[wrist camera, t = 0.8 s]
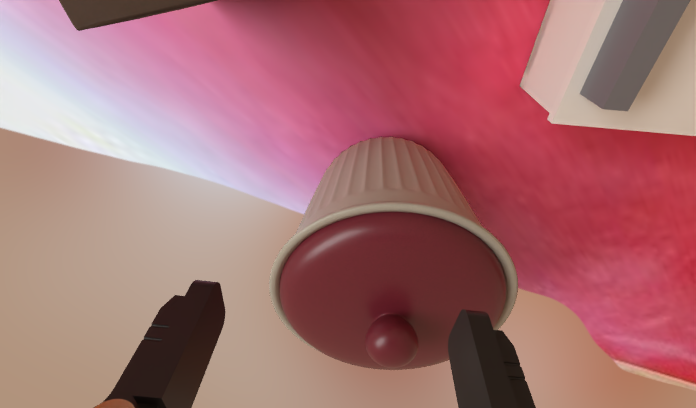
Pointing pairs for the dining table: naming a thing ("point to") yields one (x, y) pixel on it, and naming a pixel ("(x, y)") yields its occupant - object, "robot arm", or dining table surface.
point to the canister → (389, 260)
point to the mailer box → (555, 48)
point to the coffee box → (119, 10)
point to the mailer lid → (633, 69)
